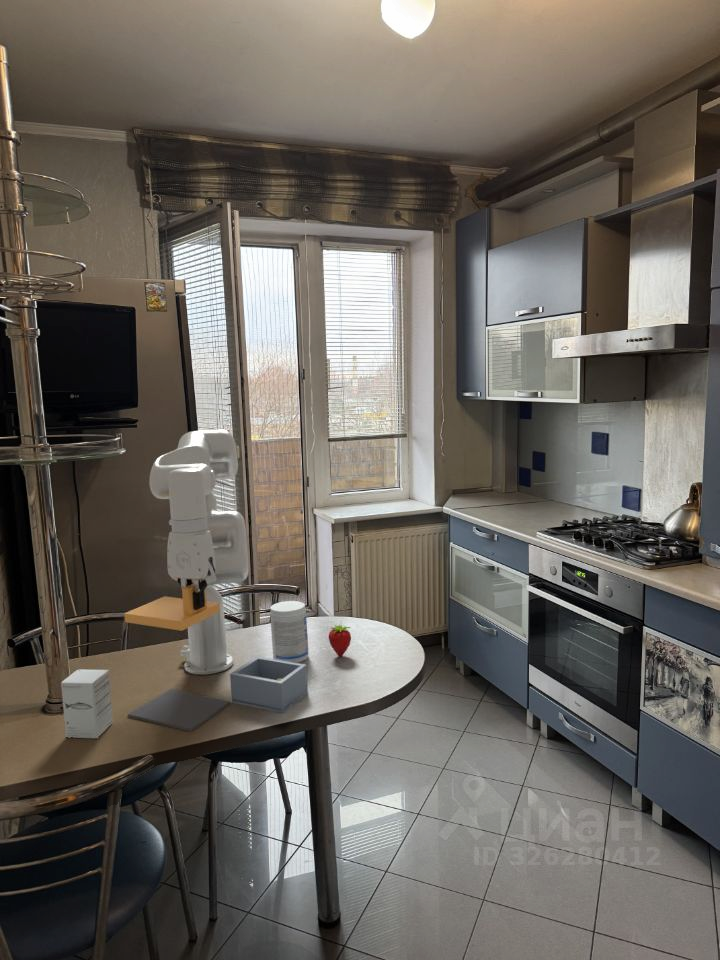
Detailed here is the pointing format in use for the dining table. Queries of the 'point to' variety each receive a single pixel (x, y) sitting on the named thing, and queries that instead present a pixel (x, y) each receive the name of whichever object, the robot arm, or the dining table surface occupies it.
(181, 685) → the dining table surface
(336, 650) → the strawberry
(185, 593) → the lid
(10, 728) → the dining table surface
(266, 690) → the parts tub
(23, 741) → the dining table surface
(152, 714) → the mat
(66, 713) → the supplement box
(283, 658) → the supplement tub
